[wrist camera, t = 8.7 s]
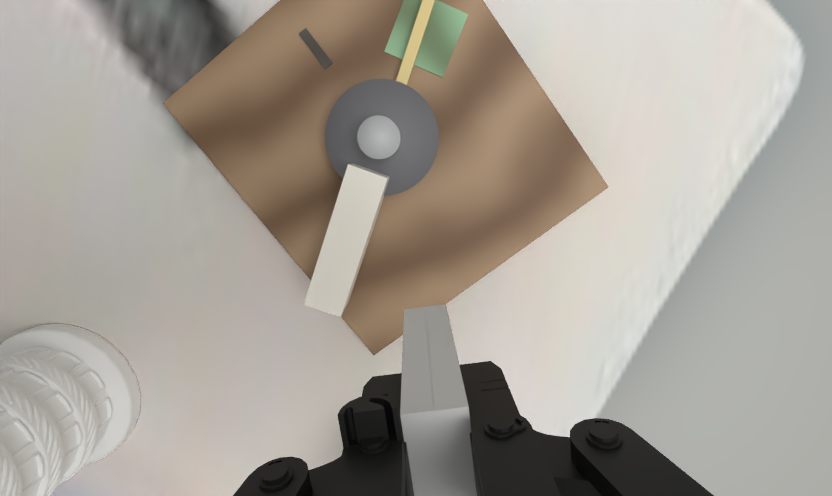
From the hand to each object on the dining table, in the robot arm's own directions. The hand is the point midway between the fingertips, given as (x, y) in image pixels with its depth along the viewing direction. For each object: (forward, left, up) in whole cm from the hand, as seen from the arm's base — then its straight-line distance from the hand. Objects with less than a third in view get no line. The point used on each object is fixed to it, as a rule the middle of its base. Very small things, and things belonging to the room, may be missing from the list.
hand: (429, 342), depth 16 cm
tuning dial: (-8, +2, -15) cm, 17 cm away
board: (-7, +2, -17) cm, 19 cm away
